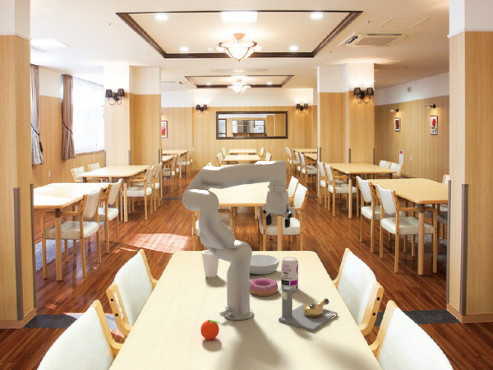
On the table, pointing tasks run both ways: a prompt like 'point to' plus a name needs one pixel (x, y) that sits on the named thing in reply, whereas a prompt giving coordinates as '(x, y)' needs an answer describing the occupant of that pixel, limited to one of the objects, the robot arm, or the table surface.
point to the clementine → (210, 329)
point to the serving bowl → (263, 264)
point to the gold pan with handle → (314, 309)
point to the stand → (300, 313)
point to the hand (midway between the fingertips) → (277, 226)
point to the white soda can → (289, 273)
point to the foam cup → (210, 263)
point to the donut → (263, 287)
